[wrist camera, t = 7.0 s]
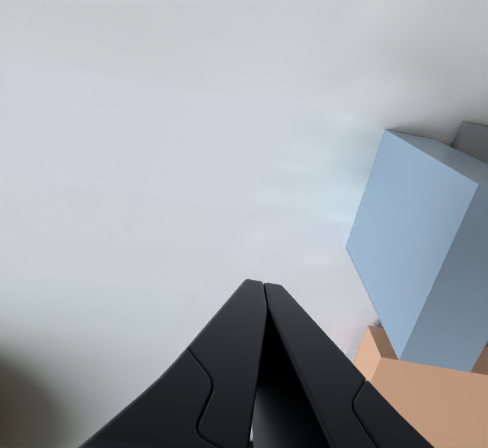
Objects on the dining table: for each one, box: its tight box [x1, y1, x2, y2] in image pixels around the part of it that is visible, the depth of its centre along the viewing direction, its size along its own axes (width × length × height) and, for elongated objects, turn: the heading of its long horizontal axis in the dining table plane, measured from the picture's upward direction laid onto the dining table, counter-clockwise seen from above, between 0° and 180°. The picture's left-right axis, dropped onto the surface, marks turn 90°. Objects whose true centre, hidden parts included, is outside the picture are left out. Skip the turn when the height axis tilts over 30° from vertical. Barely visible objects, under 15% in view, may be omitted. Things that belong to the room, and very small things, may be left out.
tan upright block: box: [353, 325, 488, 448], centre depth 21 cm, size 6×2×8 cm
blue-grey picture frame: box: [346, 130, 488, 372], centre depth 15 cm, size 6×2×8 cm, turn 168°
